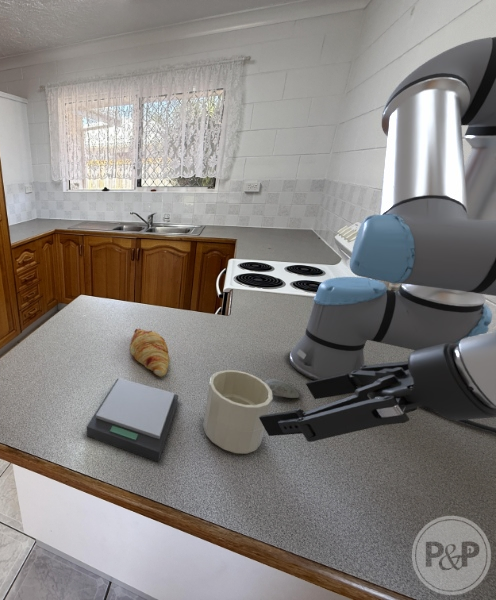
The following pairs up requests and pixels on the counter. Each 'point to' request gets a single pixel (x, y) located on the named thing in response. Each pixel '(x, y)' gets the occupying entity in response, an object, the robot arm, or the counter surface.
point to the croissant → (150, 351)
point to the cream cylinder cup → (236, 410)
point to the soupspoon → (281, 388)
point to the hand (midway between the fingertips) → (289, 407)
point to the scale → (134, 418)
